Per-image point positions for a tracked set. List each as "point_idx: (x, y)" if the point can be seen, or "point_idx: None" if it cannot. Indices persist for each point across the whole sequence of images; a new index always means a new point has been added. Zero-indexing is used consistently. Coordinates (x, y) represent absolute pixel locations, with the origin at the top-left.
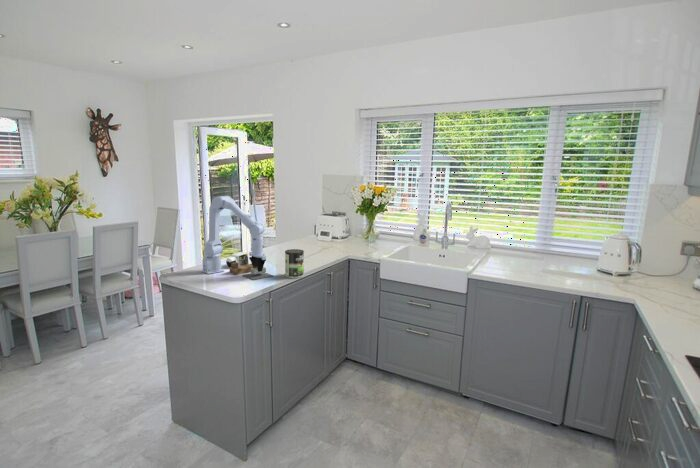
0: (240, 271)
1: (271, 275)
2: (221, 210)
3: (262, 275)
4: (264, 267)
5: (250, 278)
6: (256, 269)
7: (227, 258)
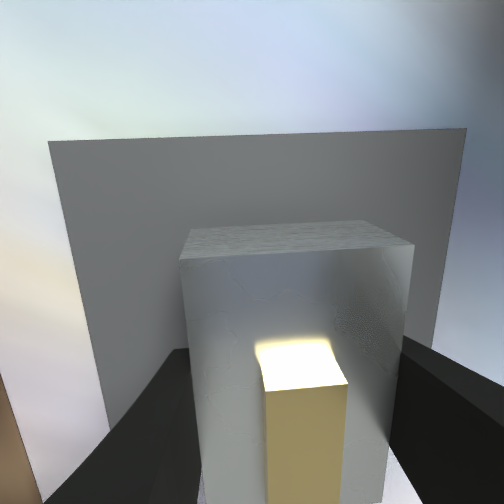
0: (1, 497)
1: (444, 153)
2: None
3: None
4: (352, 255)
5: None
6: (380, 466)
7: None
